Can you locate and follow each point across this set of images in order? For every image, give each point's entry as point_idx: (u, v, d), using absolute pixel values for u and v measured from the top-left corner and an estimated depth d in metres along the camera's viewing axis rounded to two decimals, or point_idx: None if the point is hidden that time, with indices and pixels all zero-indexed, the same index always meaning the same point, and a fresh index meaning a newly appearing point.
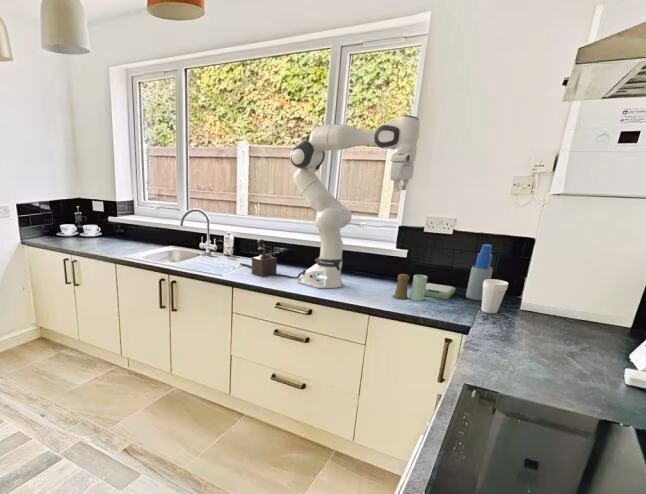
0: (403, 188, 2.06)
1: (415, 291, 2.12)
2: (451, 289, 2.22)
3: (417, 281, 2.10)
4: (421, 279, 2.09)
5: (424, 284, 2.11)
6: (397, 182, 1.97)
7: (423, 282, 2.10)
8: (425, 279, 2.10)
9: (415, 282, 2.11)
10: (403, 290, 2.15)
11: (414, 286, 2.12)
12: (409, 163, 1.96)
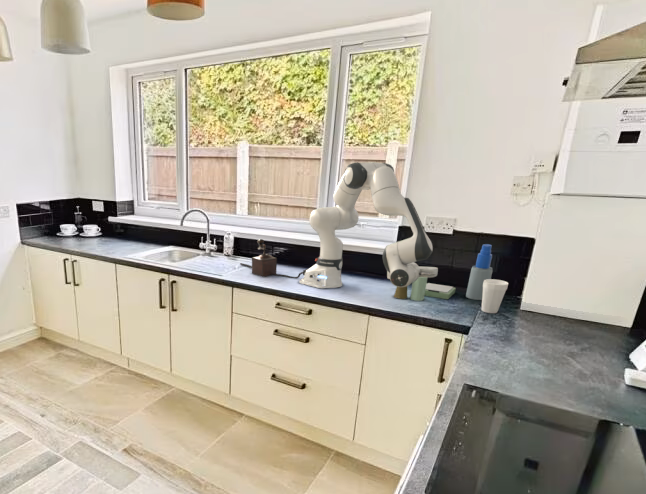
0: None
1: (415, 291, 2.12)
2: (451, 289, 2.22)
3: (417, 281, 2.10)
4: (421, 279, 2.09)
5: (424, 284, 2.11)
6: None
7: (423, 282, 2.10)
8: (425, 279, 2.10)
9: (415, 282, 2.11)
10: (403, 290, 2.15)
11: (414, 286, 2.12)
12: None
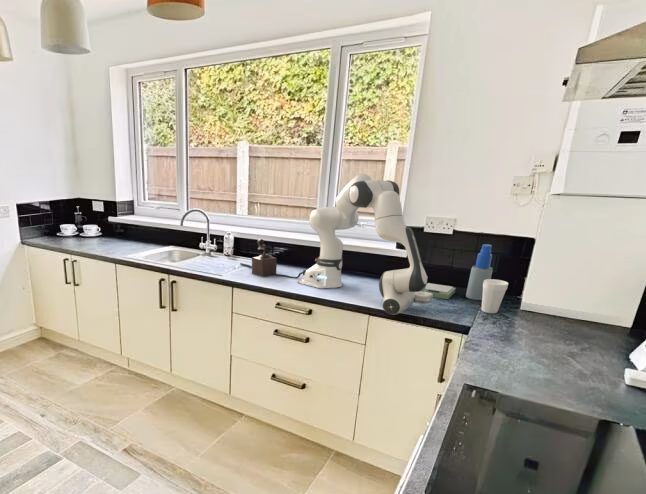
0: None
1: None
2: (451, 289, 2.22)
3: None
4: None
5: None
6: None
7: None
8: None
9: None
10: None
11: None
12: None
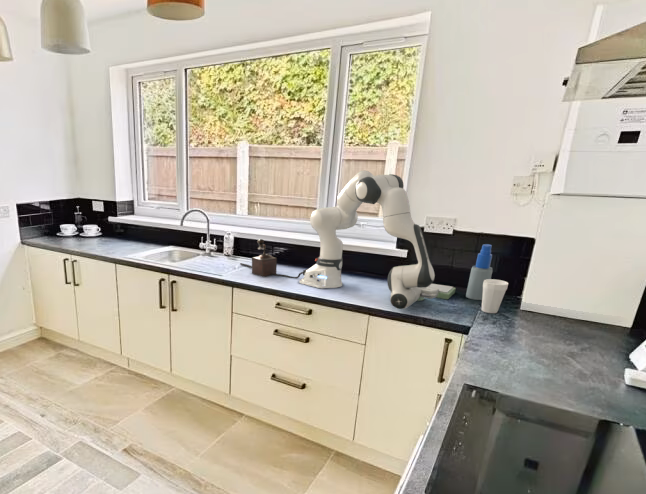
0: None
1: None
2: (451, 289, 2.22)
3: None
4: None
5: None
6: None
7: None
8: None
9: None
10: None
11: None
12: None
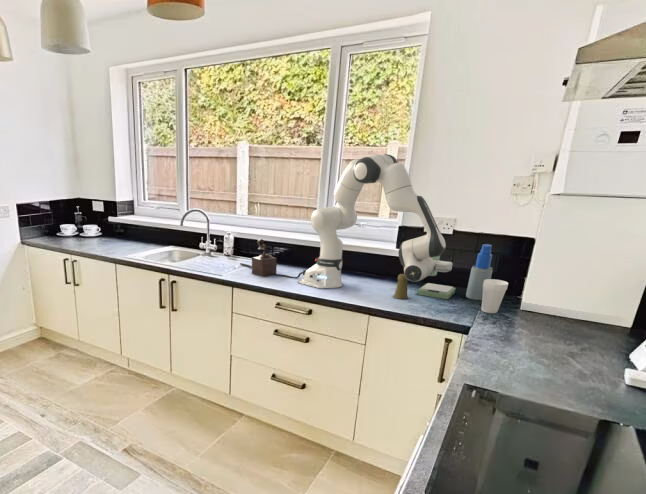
0: None
1: None
2: (451, 289, 2.22)
3: None
4: None
5: (437, 259, 2.10)
6: None
7: (436, 257, 2.09)
8: None
9: None
10: (403, 290, 2.15)
11: None
12: None
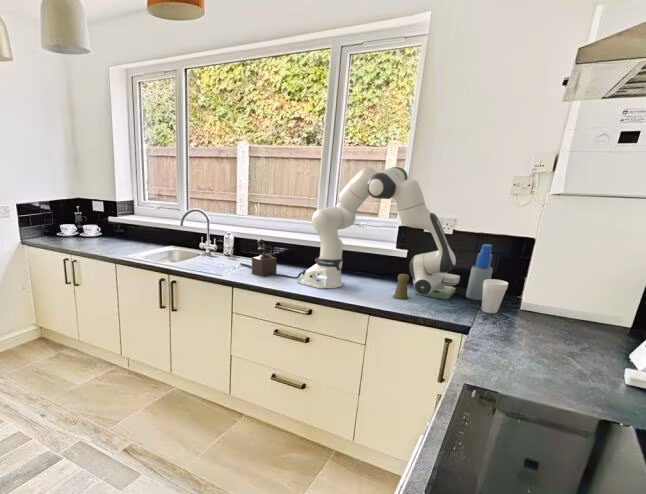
0: None
1: None
2: (451, 289, 2.22)
3: None
4: None
5: (445, 273, 2.18)
6: None
7: None
8: None
9: None
10: (403, 290, 2.15)
11: None
12: None
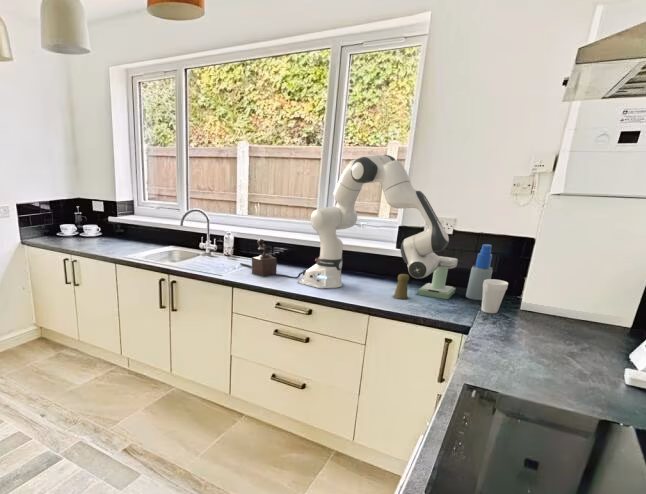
0: None
1: (436, 279, 2.20)
2: (451, 289, 2.22)
3: (438, 270, 2.18)
4: (442, 268, 2.16)
5: (445, 273, 2.18)
6: None
7: (444, 271, 2.17)
8: None
9: (436, 271, 2.18)
10: (403, 290, 2.15)
11: (435, 275, 2.19)
12: None
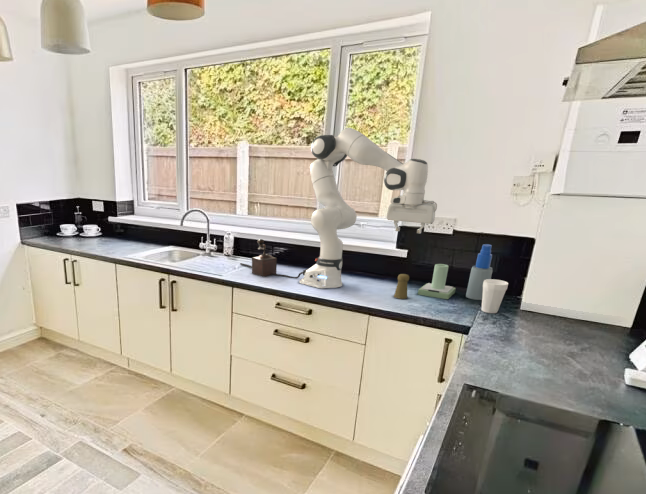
0: None
1: (436, 279, 2.20)
2: (451, 289, 2.22)
3: (438, 270, 2.18)
4: (442, 268, 2.16)
5: (445, 273, 2.18)
6: None
7: (444, 271, 2.17)
8: (446, 268, 2.17)
9: (436, 271, 2.18)
10: (403, 290, 2.15)
11: (435, 275, 2.19)
12: (406, 206, 1.97)
